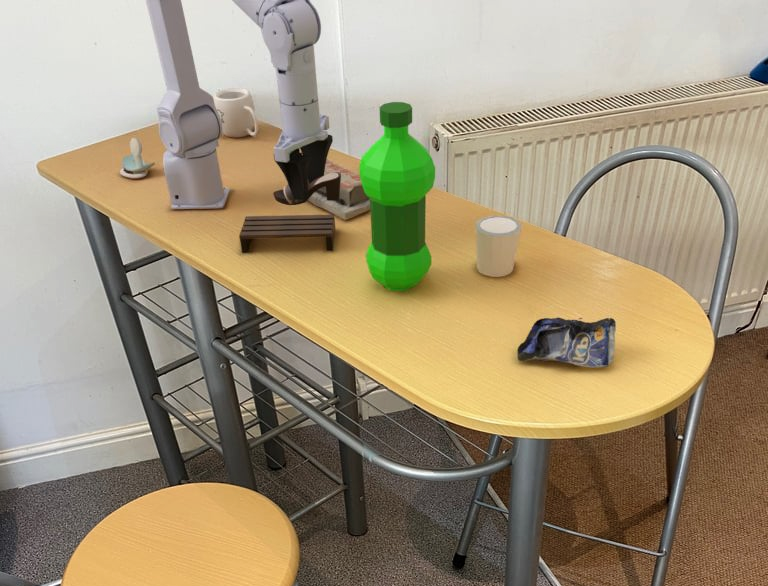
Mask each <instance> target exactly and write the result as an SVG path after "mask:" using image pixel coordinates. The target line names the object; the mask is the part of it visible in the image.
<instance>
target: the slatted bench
mask: <svg viewBox="0 0 768 586" xmlns="http://www.w3.org/2000/svg"><path fill="white" fill-rule="evenodd" d="M336 232H337V231H336V220H335V214H295V215H291V214H290V215H245V218H244V221H243V224H242V226H241V229H240V232H239V235H238V236H239V242H240V248H241V253H242V254H243V253H245V254H247V253H249V251H250V247H251V244H252V241H253V239H254V240H255V239H297V238H298V239H301V238H303V239H305V238H325V246H326V252H333V251H334V246H335V239H336Z"/></svg>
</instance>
